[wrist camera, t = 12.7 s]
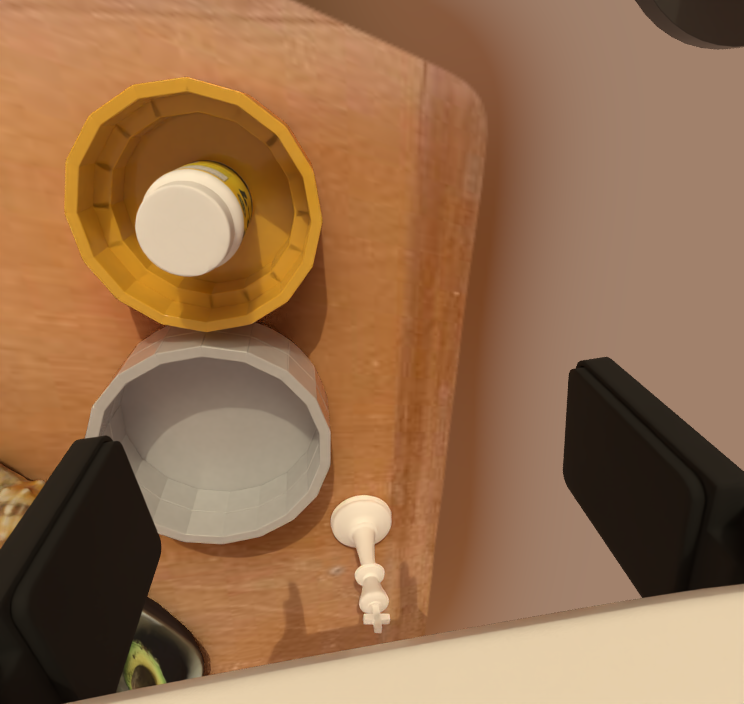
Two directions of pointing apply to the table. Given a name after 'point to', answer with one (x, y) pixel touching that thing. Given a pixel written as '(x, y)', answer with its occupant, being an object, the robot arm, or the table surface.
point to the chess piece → (365, 550)
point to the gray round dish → (219, 430)
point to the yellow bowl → (169, 152)
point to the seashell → (14, 499)
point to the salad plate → (160, 651)
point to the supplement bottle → (194, 218)
